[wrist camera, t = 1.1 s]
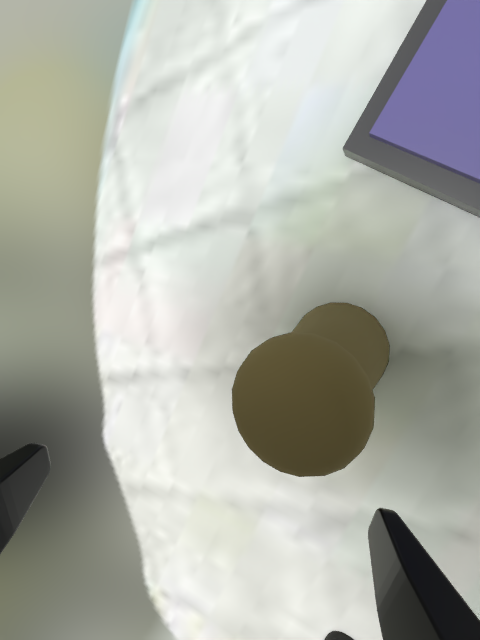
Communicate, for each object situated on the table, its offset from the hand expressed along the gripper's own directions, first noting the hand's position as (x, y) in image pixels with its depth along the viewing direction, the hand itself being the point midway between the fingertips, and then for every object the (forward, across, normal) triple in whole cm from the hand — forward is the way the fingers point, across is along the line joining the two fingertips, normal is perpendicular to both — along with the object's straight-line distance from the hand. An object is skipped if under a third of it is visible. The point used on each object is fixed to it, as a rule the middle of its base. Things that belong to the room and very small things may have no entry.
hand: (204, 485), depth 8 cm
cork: (+13, -6, +2) cm, 14 cm away
